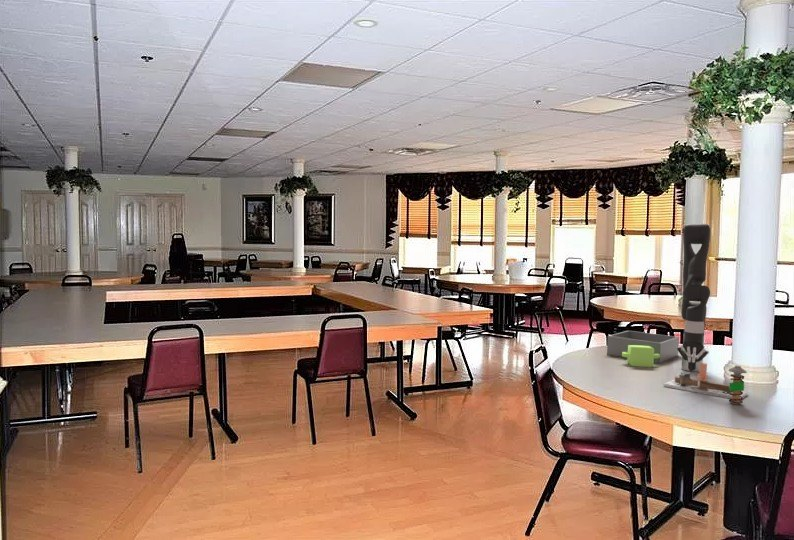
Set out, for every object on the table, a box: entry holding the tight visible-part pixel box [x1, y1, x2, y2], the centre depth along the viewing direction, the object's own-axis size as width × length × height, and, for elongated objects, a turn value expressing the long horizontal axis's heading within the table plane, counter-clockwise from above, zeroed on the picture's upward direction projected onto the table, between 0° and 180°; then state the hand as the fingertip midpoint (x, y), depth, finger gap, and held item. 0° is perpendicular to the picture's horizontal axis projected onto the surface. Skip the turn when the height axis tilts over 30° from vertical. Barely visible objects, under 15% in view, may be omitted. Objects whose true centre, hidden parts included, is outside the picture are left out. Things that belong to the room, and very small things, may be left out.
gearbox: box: [622, 345, 660, 368], centre depth 319 cm, size 18×10×10 cm, turn 84°
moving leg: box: [695, 362, 709, 387], centre depth 271 cm, size 8×3×9 cm, turn 138°
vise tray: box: [606, 330, 680, 364], centre depth 344 cm, size 28×28×10 cm
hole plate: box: [663, 378, 749, 399], centre depth 270 cm, size 12×30×1 cm, turn 48°
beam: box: [674, 371, 741, 393], centre depth 270 cm, size 8×26×4 cm, turn 48°
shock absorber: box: [728, 365, 748, 406], centre depth 250 cm, size 6×6×15 cm
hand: (691, 370), depth 276 cm, fingers closed
